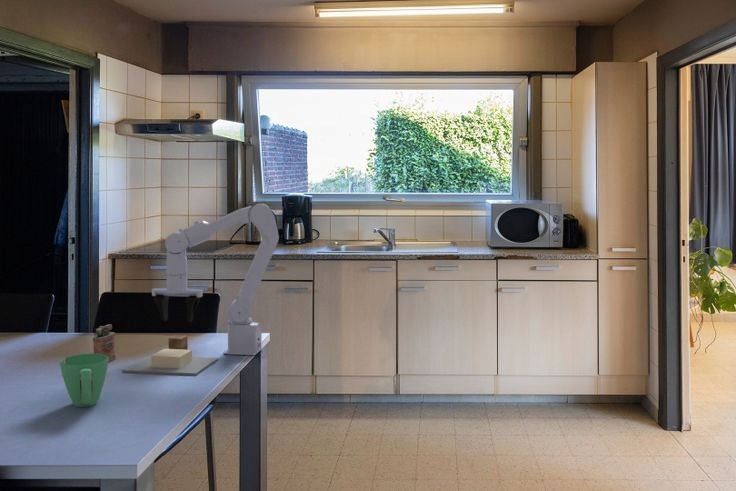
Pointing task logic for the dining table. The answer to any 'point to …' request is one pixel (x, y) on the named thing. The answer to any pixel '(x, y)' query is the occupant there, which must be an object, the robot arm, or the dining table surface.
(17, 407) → the dining table surface
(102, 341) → the lighter
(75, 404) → the mug
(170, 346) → the walnut block
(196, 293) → the robot arm
